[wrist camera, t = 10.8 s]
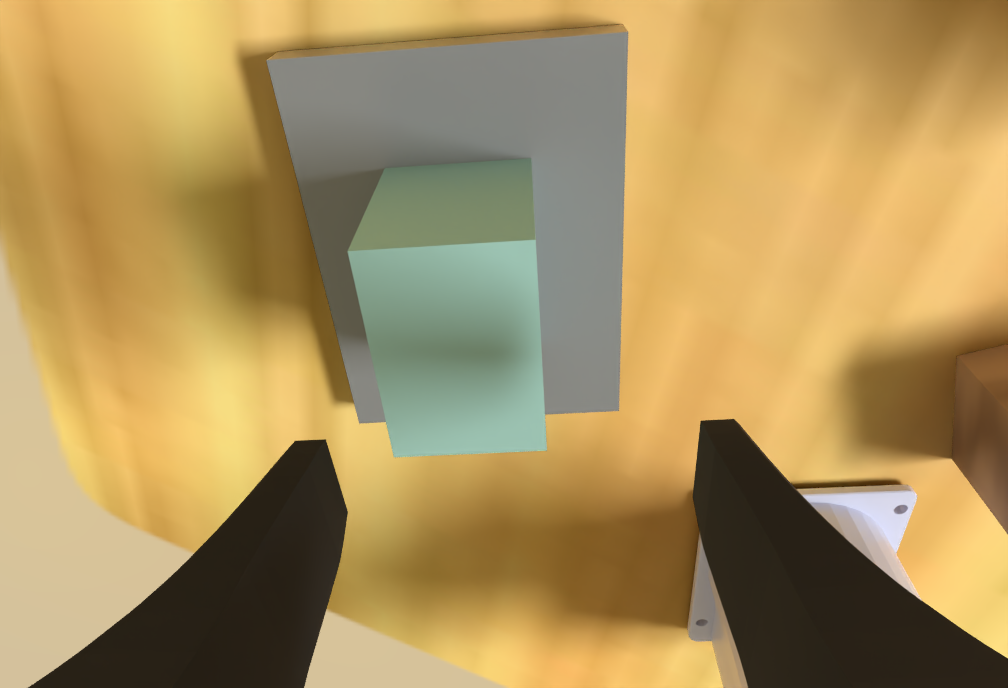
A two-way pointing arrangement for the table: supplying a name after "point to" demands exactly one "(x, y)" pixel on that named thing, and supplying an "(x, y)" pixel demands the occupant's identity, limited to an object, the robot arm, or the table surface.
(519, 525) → the table surface
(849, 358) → the table surface
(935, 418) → the table surface
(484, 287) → the teal brick
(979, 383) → the walnut block
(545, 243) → the slate board
